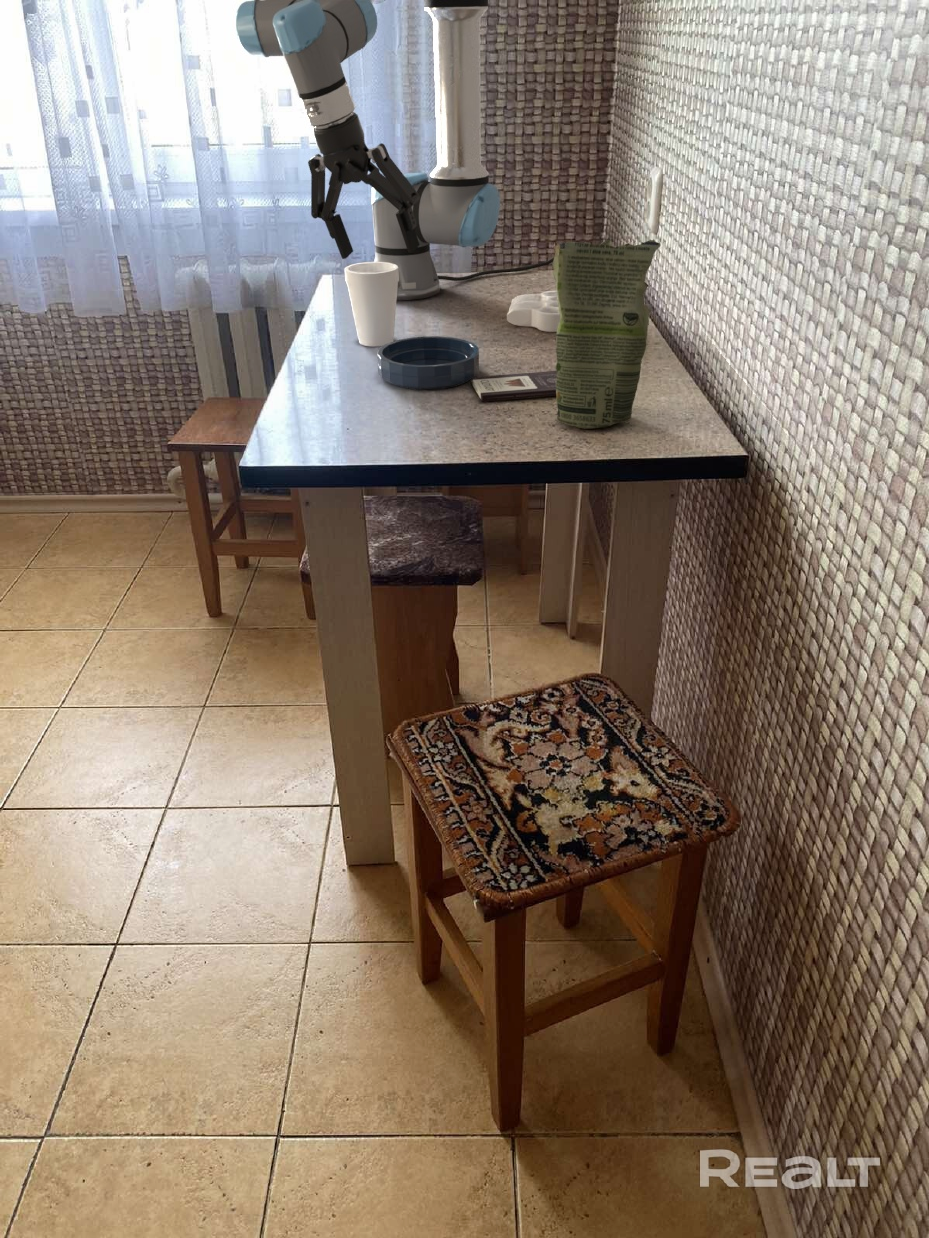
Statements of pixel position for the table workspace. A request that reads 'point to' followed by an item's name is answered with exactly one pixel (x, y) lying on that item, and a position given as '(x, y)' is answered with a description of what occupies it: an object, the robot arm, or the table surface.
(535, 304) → the white brass knuckles
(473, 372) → the bowl
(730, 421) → the table surface
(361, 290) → the foam cup
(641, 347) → the pouch
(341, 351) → the table surface
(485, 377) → the chocolate bar
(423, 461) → the table surface
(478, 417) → the table surface
